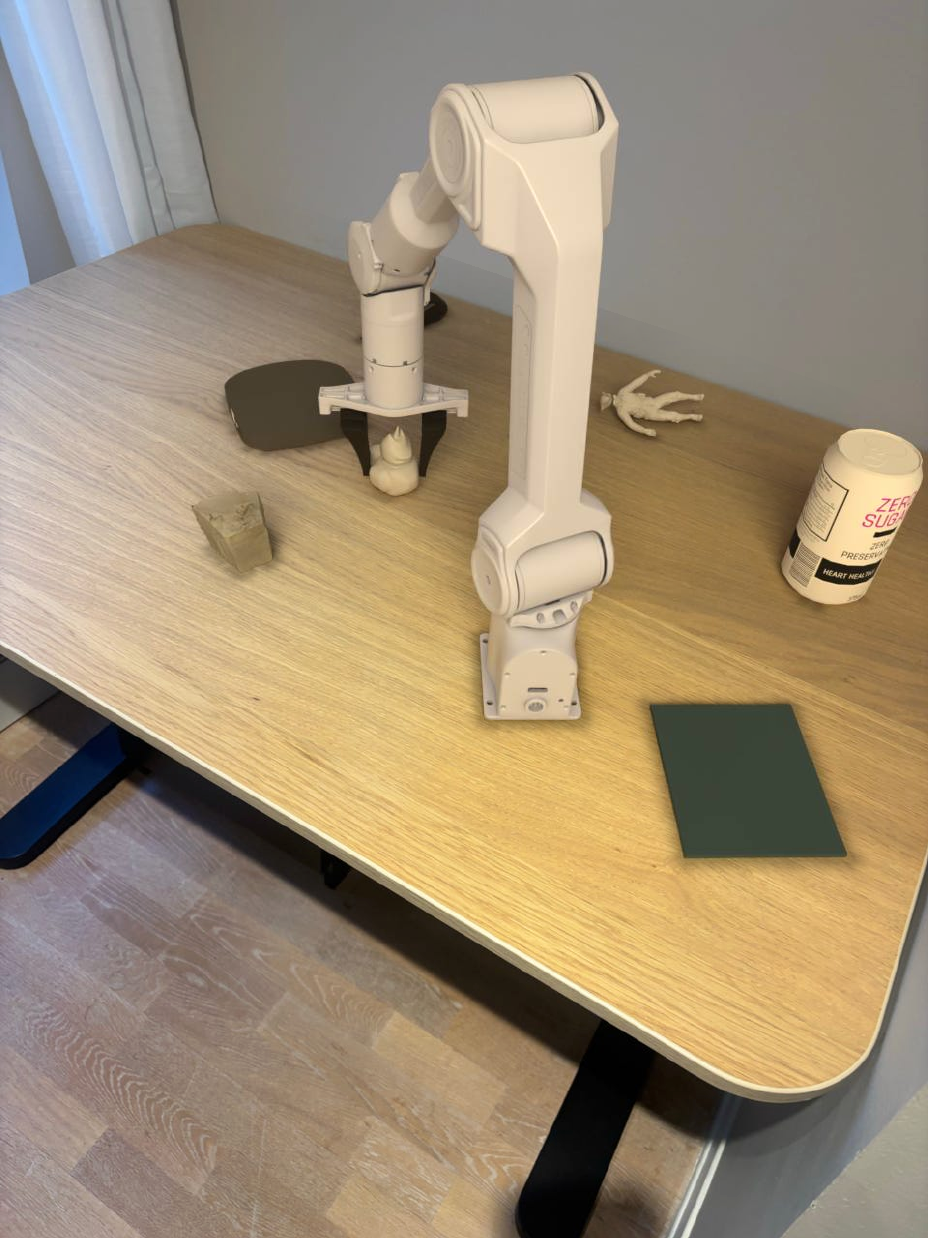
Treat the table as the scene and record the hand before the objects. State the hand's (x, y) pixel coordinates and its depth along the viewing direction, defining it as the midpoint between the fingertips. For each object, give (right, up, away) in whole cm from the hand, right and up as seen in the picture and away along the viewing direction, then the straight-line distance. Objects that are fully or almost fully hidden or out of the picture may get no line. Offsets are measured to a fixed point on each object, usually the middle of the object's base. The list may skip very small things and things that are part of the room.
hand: (395, 471), depth 92 cm
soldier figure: (+29, +8, +13) cm, 33 cm away
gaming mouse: (-1, +25, +28) cm, 37 cm away
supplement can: (+42, -12, -6) cm, 44 cm away
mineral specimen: (-14, -10, -7) cm, 19 cm away
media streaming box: (-13, +9, +11) cm, 19 cm away
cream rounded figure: (0, -2, +2) cm, 2 cm away
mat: (+29, -28, -23) cm, 46 cm away
